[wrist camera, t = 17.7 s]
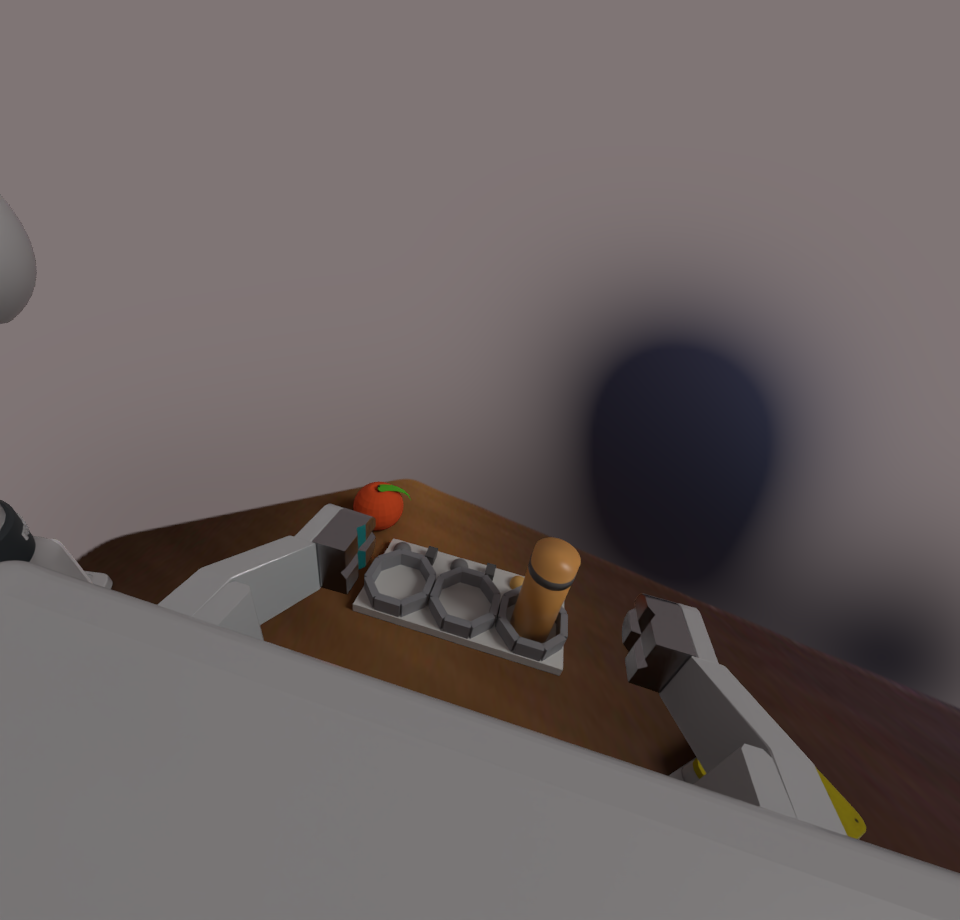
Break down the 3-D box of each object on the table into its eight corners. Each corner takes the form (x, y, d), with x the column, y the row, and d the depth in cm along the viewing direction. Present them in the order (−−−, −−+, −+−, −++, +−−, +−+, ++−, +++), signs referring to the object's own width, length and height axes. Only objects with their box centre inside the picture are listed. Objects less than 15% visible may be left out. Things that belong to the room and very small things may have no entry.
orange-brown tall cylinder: (507, 638, 40) (532, 565, 34) (512, 603, 44) (535, 532, 38) (548, 650, 40) (581, 579, 33) (550, 614, 44) (580, 544, 37)
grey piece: (352, 610, 41) (352, 592, 40) (393, 544, 51) (394, 527, 49) (559, 675, 39) (568, 659, 37) (561, 594, 48) (568, 578, 46)
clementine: (407, 507, 58) (410, 471, 54) (411, 539, 52) (414, 500, 48) (354, 509, 55) (353, 471, 52) (352, 542, 50) (351, 502, 46)
